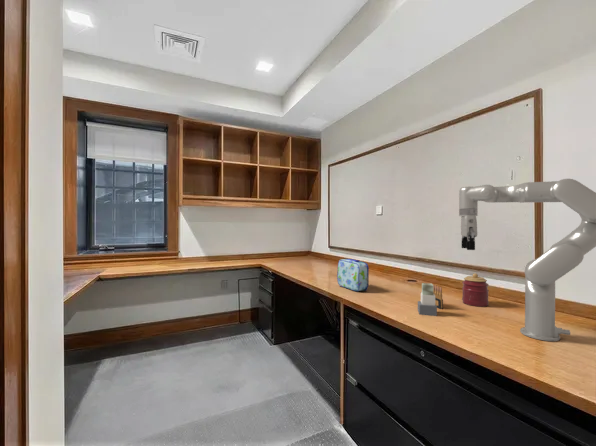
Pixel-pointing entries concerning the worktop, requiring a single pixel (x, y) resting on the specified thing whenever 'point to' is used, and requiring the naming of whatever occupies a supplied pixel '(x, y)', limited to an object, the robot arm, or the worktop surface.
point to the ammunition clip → (438, 296)
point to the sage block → (427, 289)
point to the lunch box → (353, 274)
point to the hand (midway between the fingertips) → (468, 249)
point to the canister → (475, 291)
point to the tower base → (427, 309)
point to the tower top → (428, 299)
